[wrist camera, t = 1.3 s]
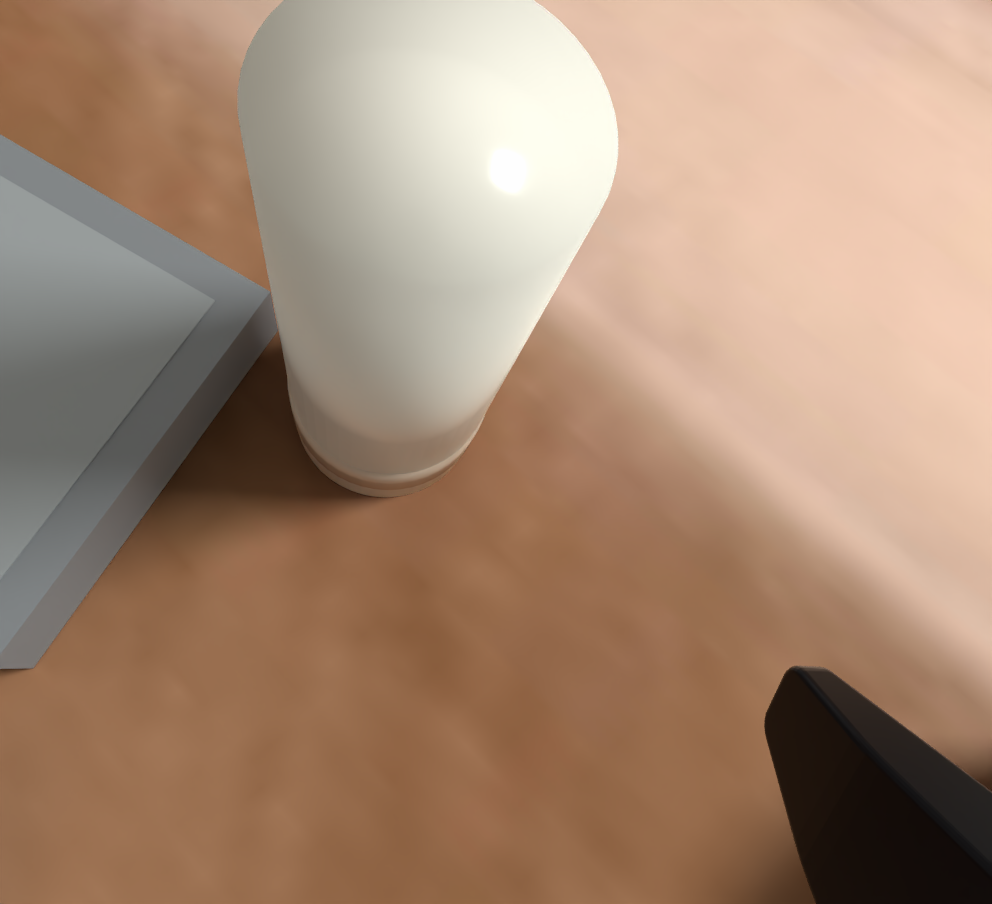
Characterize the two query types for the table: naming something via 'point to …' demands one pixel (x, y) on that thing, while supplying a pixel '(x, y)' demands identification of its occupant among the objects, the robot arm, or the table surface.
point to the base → (98, 382)
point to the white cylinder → (415, 213)
